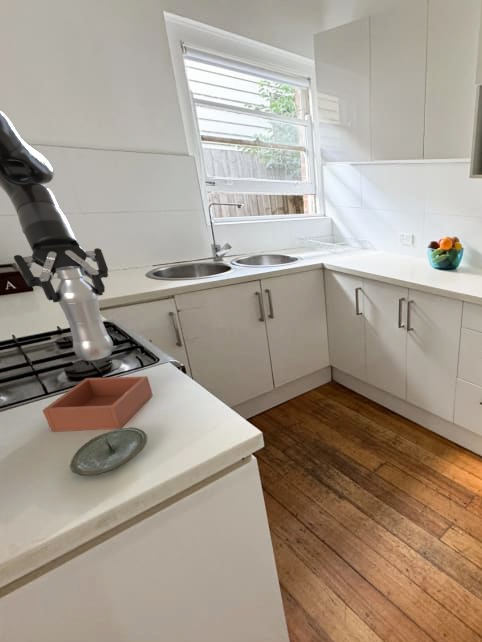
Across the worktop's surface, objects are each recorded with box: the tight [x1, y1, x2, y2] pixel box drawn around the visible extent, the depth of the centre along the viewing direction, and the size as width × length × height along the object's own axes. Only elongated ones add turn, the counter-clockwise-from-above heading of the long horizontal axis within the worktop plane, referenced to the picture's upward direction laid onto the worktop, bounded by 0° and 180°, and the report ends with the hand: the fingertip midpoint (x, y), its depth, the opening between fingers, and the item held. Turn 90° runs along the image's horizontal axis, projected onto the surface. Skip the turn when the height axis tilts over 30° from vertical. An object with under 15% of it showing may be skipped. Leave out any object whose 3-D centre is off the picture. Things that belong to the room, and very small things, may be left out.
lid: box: [69, 427, 148, 477], centre depth 62 cm, size 11×10×5 cm
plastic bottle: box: [55, 266, 114, 362], centre depth 80 cm, size 6×7×20 cm
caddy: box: [42, 375, 154, 432], centre depth 74 cm, size 12×12×5 cm
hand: (79, 296), depth 77 cm, fingers closed on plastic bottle, 6 cm apart
